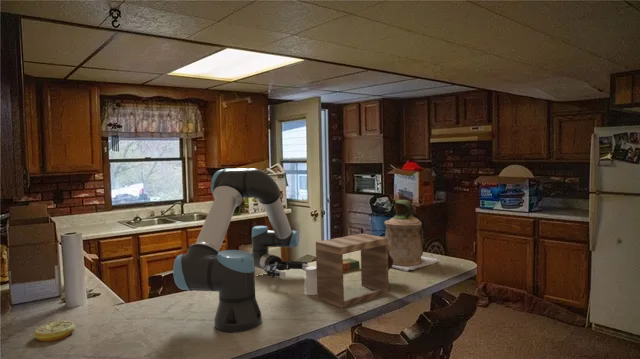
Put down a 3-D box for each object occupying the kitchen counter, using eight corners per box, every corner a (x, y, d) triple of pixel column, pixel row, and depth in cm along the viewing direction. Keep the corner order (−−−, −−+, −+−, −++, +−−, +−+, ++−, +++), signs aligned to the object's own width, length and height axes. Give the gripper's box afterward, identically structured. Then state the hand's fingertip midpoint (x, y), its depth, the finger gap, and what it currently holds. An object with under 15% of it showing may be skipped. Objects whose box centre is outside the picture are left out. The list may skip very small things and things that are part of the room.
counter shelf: (341, 307, 153) (339, 247, 152) (317, 298, 164) (315, 241, 163) (388, 293, 167) (387, 237, 166) (363, 285, 178) (362, 233, 177)
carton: (321, 271, 203) (321, 262, 203) (349, 266, 211) (349, 257, 211) (331, 275, 196) (331, 265, 196) (360, 269, 204) (359, 260, 204)
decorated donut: (83, 331, 139) (82, 320, 139) (51, 345, 129) (50, 333, 129) (60, 327, 143) (59, 316, 143) (27, 340, 133) (26, 328, 133)
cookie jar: (409, 272, 195) (408, 202, 193) (368, 263, 213) (366, 199, 212) (439, 262, 212) (438, 197, 210) (399, 254, 230) (397, 194, 228)
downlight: (316, 288, 176) (315, 264, 176) (326, 292, 171) (324, 267, 170) (299, 292, 172) (298, 268, 171) (309, 297, 166) (307, 271, 165)
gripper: (294, 266, 203) (322, 275, 186) (247, 277, 188) (273, 288, 171) (294, 250, 203) (322, 258, 186) (246, 259, 187) (272, 269, 171)
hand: (298, 272), depth 178 cm, fingers open, 13 cm apart
